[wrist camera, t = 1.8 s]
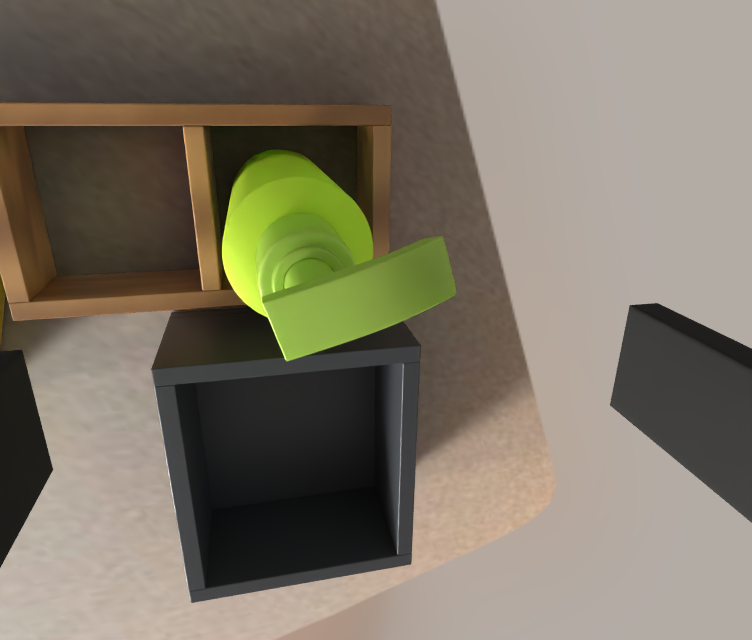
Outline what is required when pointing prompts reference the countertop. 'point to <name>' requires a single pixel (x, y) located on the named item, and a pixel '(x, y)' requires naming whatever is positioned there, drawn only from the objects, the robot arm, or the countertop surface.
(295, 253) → the soap dispenser
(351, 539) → the dark grey open box
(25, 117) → the wooden divided tray
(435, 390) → the countertop surface
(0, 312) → the element tile
